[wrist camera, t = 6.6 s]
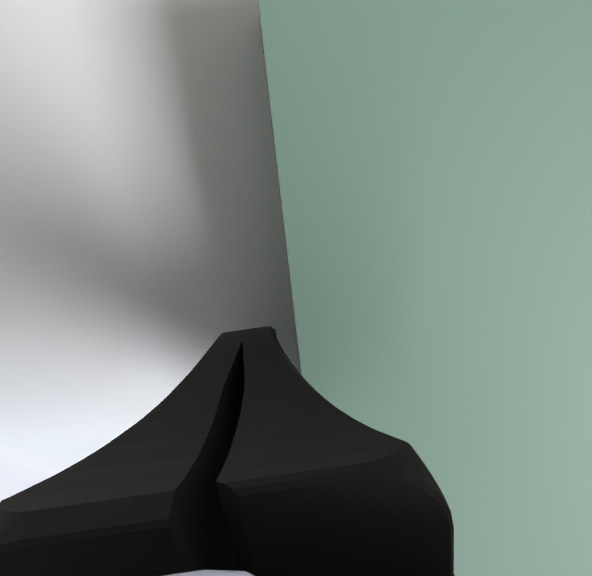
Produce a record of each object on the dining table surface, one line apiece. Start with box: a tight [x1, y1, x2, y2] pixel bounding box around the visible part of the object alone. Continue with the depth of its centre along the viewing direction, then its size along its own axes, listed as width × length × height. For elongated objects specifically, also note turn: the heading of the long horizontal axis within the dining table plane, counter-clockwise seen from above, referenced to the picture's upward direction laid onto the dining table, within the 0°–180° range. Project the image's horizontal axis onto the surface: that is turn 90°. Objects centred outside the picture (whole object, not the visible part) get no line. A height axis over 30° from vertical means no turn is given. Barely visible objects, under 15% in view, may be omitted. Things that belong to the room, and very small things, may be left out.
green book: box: [258, 0, 592, 576], centre depth 13 cm, size 12×16×4 cm
